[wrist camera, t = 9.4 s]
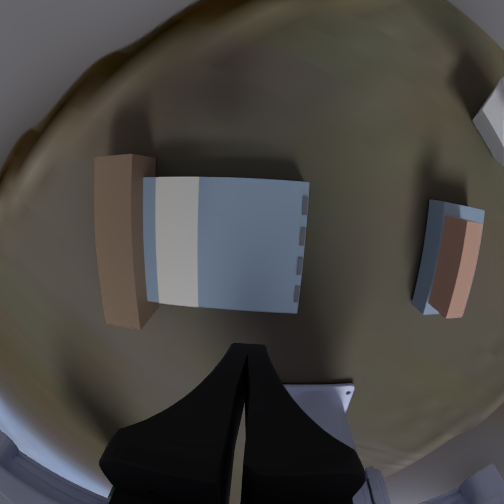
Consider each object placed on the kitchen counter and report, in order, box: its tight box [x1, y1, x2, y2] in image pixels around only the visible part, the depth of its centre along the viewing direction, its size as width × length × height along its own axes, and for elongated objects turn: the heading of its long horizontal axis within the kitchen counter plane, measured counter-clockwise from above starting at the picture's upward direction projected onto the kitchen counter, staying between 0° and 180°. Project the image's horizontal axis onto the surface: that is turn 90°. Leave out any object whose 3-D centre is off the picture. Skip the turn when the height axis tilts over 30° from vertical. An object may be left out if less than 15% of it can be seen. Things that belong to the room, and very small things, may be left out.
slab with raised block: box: [412, 199, 485, 318], centre depth 17 cm, size 9×5×5 cm, turn 177°
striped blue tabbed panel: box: [94, 154, 310, 330], centre depth 18 cm, size 12×14×4 cm
